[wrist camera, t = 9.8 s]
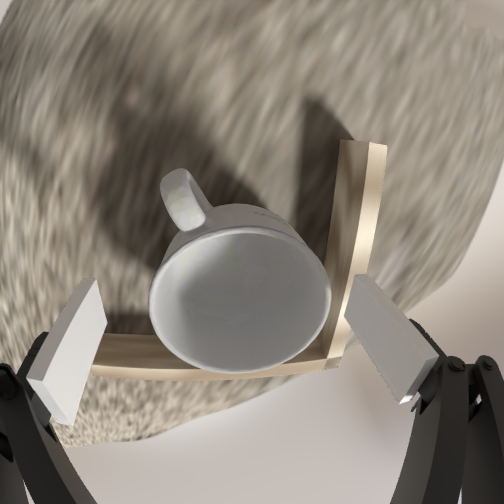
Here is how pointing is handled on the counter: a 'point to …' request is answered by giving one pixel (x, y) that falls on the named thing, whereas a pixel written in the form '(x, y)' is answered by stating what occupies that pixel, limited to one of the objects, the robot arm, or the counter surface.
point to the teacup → (234, 284)
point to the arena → (336, 265)
